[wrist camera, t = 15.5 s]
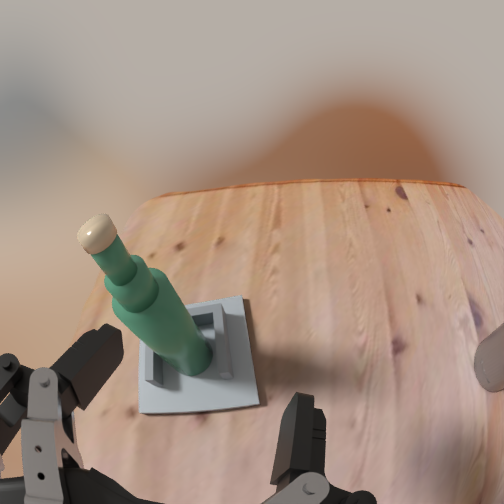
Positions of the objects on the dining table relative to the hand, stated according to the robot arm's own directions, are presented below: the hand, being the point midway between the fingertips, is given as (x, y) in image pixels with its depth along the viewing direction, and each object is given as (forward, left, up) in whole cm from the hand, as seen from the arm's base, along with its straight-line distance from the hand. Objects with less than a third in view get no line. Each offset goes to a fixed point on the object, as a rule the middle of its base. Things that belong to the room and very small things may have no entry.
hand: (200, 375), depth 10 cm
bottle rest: (+8, -10, -23) cm, 26 cm away
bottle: (+7, -10, -22) cm, 25 cm away
